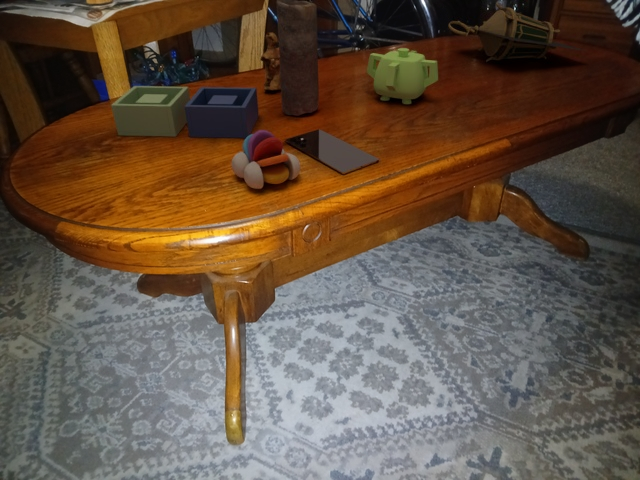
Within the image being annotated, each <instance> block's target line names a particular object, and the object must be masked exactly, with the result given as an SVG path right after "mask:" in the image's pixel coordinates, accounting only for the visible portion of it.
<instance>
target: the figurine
mask: <svg viewBox="0 0 640 480" xmlns="http://www.w3.org/2000/svg"><path fill="white" fill-rule="evenodd" d="M265 41H266V43H267V49H266V51H264V52H263V54H261V56H260V59H259V60H260V61H261V62H263V63H264V64H263V65H264V77H265V78H264V85H263V87H262V88H263V90H264V91H265V92H266V91H267V92H277V91H281V81H280V57H279V46H278V47H277V45H278V44H279V40H278V36H277V35H276V33H274V32H267V33H266V34H265Z"/></svg>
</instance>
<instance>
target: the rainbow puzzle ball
mask: <svg viewBox="0 0 640 480" xmlns="http://www.w3.org/2000/svg"><path fill="white" fill-rule="evenodd" d="M230 165H231V169H232V173H234V174H235V176H237V177H238V178H240V179H244V182H245V184H246V185H247V186H248V187H249V188H252V189H254V190H261V189H263V187H264V183H267V184H273V185H279V184H282V183H284V182H285V181H287V180H289V181H293V180H294V179H296V178H297V177H298V175H299V174H300V172H301V163H300V160H299V159H298V157H297V156H296V155H295V154H292V153H290V152H286V151H285V150H284V143H283V141H282V140H281V139H280V138H278V137H276V136H275V135H274V134H273V133H272V132H270V131H268V130H266V129H259V130H257V131H255V132H254V133H250V135H249V136H248V137H247V138H244V140H243V143H242V151H238V152H237V153H235V154H234V155H233V157H232V159H231V163H230Z"/></svg>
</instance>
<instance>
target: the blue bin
mask: <svg viewBox="0 0 640 480" xmlns="http://www.w3.org/2000/svg"><path fill="white" fill-rule="evenodd" d="M214 95H224V96H238V104H239V106H217V105H207V104H208V102H209V101H210V100H211V98H212V97H213V96H214ZM184 107H185V113H186V119H187V123H186V125H187V130H188V131H187V132H188V136H189V138H211V139H212V138H215V139H216V138H217V139H246V138H247V137H248V136H249V135H251V134H252V132H253V130H254V127H255V125H256V123H257V121H258V119H259V117H260V115H259V101H258V90H257V87H225V86H224V87H223V86H222V87H221V86H219V87H218V86H201V87H200V88H199V89H198V90H197V91H196V92H195V94H194V95H193V96H192V97H190V101H189V102H188V103H187V104H186V105H185V106H184Z"/></svg>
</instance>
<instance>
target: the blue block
mask: <svg viewBox="0 0 640 480" xmlns="http://www.w3.org/2000/svg"><path fill="white" fill-rule="evenodd" d="M207 105H217V106H239V104H238V96H224V95H214V96H213V97H212V98H211V100H210V101H209V102H208V104H207Z"/></svg>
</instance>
